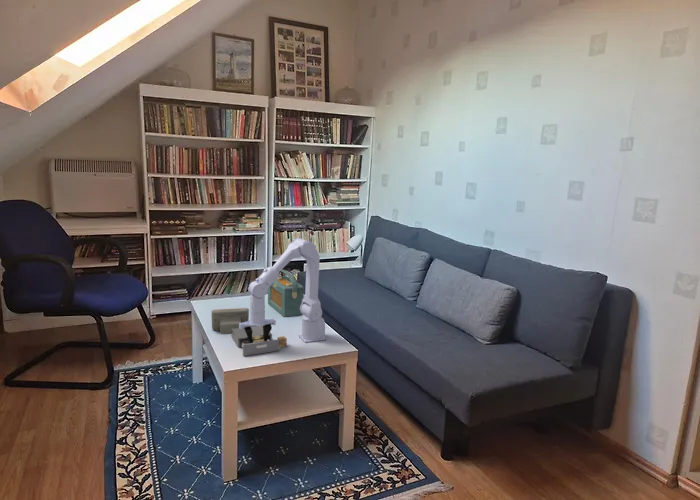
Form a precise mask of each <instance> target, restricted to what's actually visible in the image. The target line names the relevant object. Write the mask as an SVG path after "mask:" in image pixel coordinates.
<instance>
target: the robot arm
mask: <svg viewBox="0 0 700 500" xmlns="http://www.w3.org/2000/svg"><path fill="white" fill-rule="evenodd" d="M320 257H321V256H320V255H319V252H318V250H317V245H316V244H314V242H312V241H310V240H306V239H303V238H302V237H296V238H294V239H293V240H292V241H291V242H290V243H289V244H288V246H287V249H286V250H284V252H283V253H282V254H281V255H280V257H279V258H278V259H277V261H276V262H275V263H274V264H273V266H269V267H268V266H267V268H264V269H263V272H262V273H261V274H260V275H259V276H258V277H257V278H255V280H254V281H252V282H251V283H250V284H249V285H248V287H247V290H248V291H247V292H248V293H249V294H250V300H249V306H250V307H249V308H250V309H249V314H250V315H249V316H250V320H249V321H247V322H243V323H239V328H240V329H243V328H244V330H245V332H246V334H247V337H248V340H249V343H252V332H253V331H252V328H251V327H260V326H263V337H264V338H265V341H267V338H268V335H269V333H271V331H272V326H276V325H277V322H276V321H277V320H276V319H275V318H266V316H265V315H266V314H265V313H266V309H265V307H266V296H267V295H268V288H269V287H270V286H271V285H272V283H273V282H274V281H275V280H276V279H277V278H278V277H279V276H280V273H281V272H282V271H281V270H284V268H285V267H286V266H287V265H288V264H289V263H290V262H291V261H292V260H293V259H298V258H303V259H304V260H305V261H306V267H305V268H306V271H305V286H304V288H305V289H304V298H303V299H302V304H301V306H300V312H301V313H302V314H303V315H302V317H301V318H302V319H301V320H302V324H301V325H302V326H301V327H302V328H301V330H302V331H301V334H300V335H298V338H299V339H301V340H302V341H303V342H304V343H310V342H311V343H312V342H316V341H317V342H318V341H324V340H326V322H325V319H324V318H323V317H322V315H323V310H322V307H321V306H322V305H321V304H322V303H321V301H320V299H319V278H320V277H319V276H320V260H321V259H320ZM280 271H281V272H280ZM279 272H280V273H279Z"/></svg>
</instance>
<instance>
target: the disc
mask: <svg viewBox="0 0 700 500" xmlns="http://www.w3.org/2000/svg"><path fill="white" fill-rule="evenodd" d="M263 341H265V338H264V337H263V336H253V337H252V343H256V342H263Z"/></svg>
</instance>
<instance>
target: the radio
mask: <svg viewBox="0 0 700 500" xmlns="http://www.w3.org/2000/svg"><path fill="white" fill-rule="evenodd" d="M281 272H282V273H284V275H279V277H278V278H277V279H276V280H275V281H274V282H273V283H272V285H271V286H270V287H269V288H268V291H267V304H268V305H269V306H271V307H272V308H273V309H274V310H275V311H276V312H278V314H280V315H281V316H282V317H284V318H288V317H289V318H290V317H295V316H303V314H302V313H301V312H300V306H301V304H302V299H303V298H304V297H305V289H304V288H305V286H304V285H302V284H300V283H299V282H298V281H296V280H295V278H294V276H293V275H292V274H291V273H290V272H289V271H287V270H286V269H282V270H281V271H280V272H279V274H280V273H281Z"/></svg>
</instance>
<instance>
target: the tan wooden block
mask: <svg viewBox="0 0 700 500" xmlns="http://www.w3.org/2000/svg"><path fill="white" fill-rule="evenodd" d="M276 340H279V349H280V348H281V349H282V348H287V347H288V346H287V345H288V340H287V338H286V336H284V335H283V336H277V338H276Z"/></svg>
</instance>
